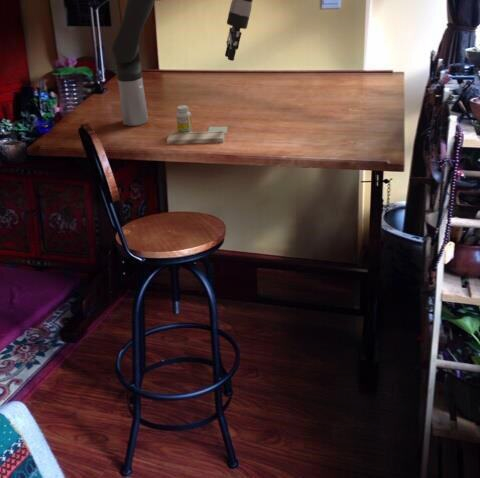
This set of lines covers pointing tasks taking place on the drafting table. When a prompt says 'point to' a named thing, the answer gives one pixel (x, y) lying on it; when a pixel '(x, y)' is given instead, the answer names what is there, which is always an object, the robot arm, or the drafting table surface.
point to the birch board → (196, 137)
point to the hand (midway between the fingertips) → (229, 58)
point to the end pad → (218, 129)
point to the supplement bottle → (183, 119)
